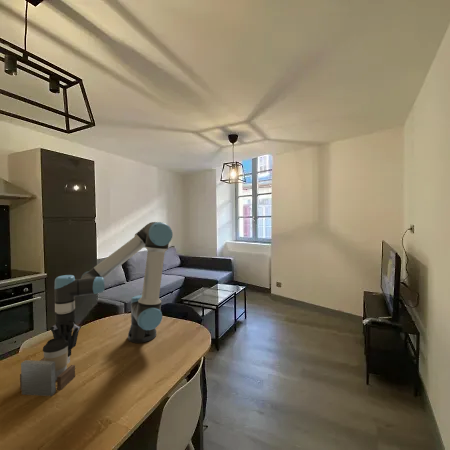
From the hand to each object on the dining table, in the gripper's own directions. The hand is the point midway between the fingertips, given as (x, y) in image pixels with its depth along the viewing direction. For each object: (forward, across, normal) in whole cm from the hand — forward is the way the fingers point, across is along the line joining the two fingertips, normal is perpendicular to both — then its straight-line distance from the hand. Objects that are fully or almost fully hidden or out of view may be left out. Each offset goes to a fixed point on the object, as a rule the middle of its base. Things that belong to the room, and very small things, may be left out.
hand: (66, 363), depth 111 cm
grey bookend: (+2, -1, +16) cm, 16 cm away
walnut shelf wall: (+2, 0, +5) cm, 6 cm away
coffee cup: (+2, 0, +6) cm, 6 cm away
